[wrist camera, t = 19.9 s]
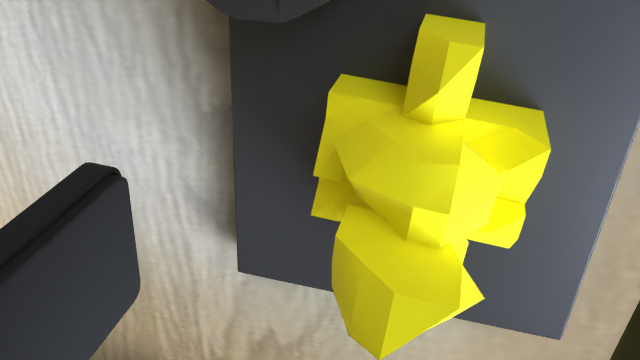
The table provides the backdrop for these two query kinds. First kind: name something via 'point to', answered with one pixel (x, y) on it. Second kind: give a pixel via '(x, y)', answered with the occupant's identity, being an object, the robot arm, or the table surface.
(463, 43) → the yellow crystal cluster
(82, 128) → the table surface
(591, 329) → the table surface
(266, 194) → the scale
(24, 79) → the table surface
